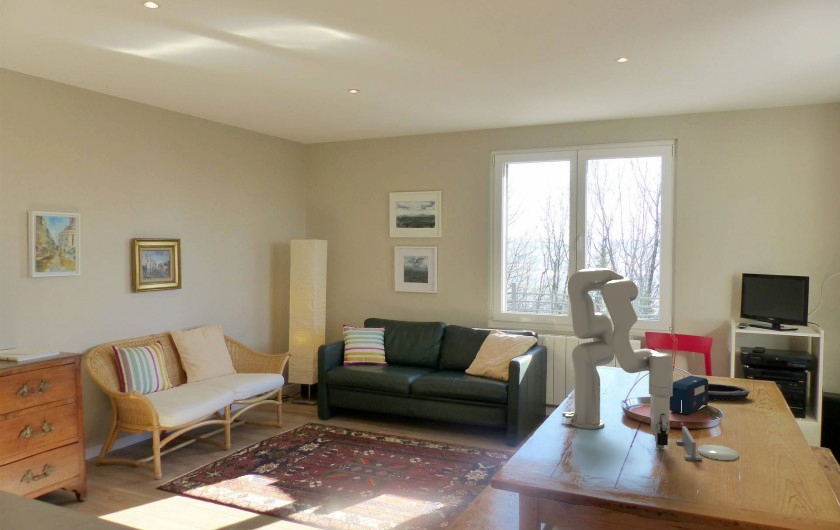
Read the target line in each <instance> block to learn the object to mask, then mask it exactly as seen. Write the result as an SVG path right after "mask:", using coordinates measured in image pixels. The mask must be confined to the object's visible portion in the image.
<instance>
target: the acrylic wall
mask: <svg viewBox="0 0 840 530" xmlns="http://www.w3.org/2000/svg"><path fill="white" fill-rule="evenodd" d="M675 443H676V445H678V446H683V448H684V449H685V451H686V453H687V454H683V458H684V460H685V461H693V460H701V461H700V462H703V456H702V455H697V453H696V450H697V449H696V448H697V442H696V440H695V439H694V438H693V435H692V434H691V432H690V431H689V429H688V428H687V425H686V426H685V425H682V426H681V439H675Z"/></svg>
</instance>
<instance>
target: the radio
mask: <svg viewBox="0 0 840 530" xmlns="http://www.w3.org/2000/svg"><path fill="white" fill-rule="evenodd" d="M708 384H709V379H707V377H701V376H697V375H688V376H686V377H685V376H684V377H683V378H680V379H678V380H675V381H673V396H671V397H669V411H671V412H673V413H677V414H680V412H681V400H682V413H683V414H682V415H686V416H690V415H691V414H694V413H697V412H698V411H699V410H698V409H699V408H700V407H701V406H702V405H707V406H708V405H709V400H708ZM697 410H698V411H697ZM689 414H690V415H689Z"/></svg>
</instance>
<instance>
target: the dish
mask: <svg viewBox="0 0 840 530" xmlns="http://www.w3.org/2000/svg"><path fill="white" fill-rule="evenodd" d="M750 393H751V391H750V390H749V389H748V388H746V387H742V386H736V385H728V384H720V383H708V401H738V400H743V399H746V398H747V397H748V396H749V394H750Z"/></svg>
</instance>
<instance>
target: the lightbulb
mask: <svg viewBox="0 0 840 530" xmlns="http://www.w3.org/2000/svg"><path fill="white" fill-rule="evenodd" d="M660 418H661V417H660ZM659 424H662V423H659ZM649 426H650V429H651V432H652V434H654V435H653V436H654V441H655V447H656V448H657V450H660V451H661V450H663V449H664V448H665V445H658V444H657V433H658V425H654V424H653V423H652V421H651V422H650V425H649ZM660 428H661V427H660ZM670 429H671V426H670V424H669V425H668V426H667V431H668V433H669V432H670Z"/></svg>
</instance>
